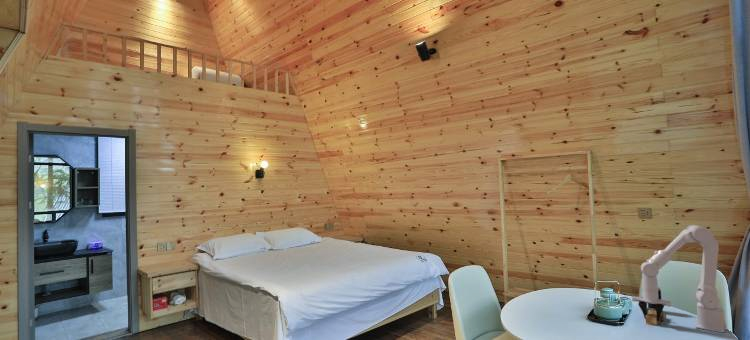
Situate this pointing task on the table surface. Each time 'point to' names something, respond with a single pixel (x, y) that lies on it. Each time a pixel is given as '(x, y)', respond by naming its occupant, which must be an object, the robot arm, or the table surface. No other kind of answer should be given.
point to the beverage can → (658, 298)
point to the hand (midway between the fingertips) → (652, 319)
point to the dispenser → (662, 314)
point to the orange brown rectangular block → (652, 318)
